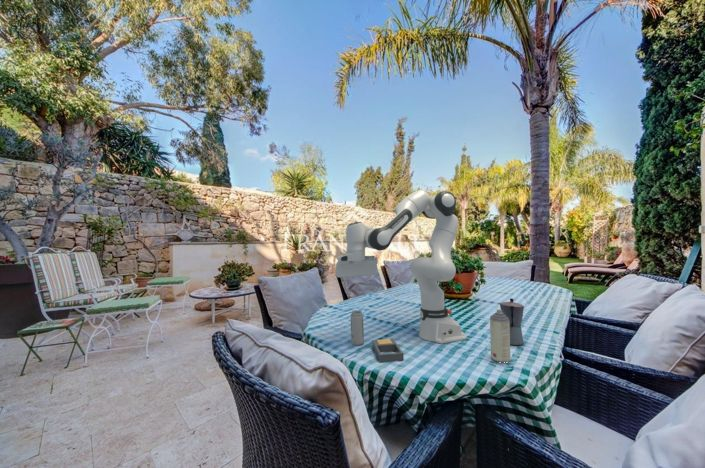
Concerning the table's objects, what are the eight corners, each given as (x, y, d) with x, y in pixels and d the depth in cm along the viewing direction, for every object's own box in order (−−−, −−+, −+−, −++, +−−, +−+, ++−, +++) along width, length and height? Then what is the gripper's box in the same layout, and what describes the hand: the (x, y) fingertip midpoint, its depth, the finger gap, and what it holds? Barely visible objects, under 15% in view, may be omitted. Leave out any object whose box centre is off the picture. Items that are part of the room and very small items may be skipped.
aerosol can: (498, 354, 114) (497, 306, 114) (514, 361, 107) (513, 310, 107) (487, 357, 111) (485, 308, 111) (502, 365, 105) (500, 313, 105)
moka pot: (522, 337, 130) (521, 296, 130) (527, 351, 116) (526, 304, 116) (500, 335, 134) (498, 294, 134) (502, 347, 120) (501, 302, 120)
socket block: (393, 345, 126) (393, 337, 126) (403, 360, 111) (403, 352, 111) (372, 346, 125) (372, 339, 125) (379, 362, 110) (379, 354, 110)
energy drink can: (351, 341, 132) (350, 310, 132) (363, 340, 132) (362, 309, 132) (351, 346, 126) (350, 314, 126) (364, 346, 126) (363, 313, 126)
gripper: (376, 254, 134) (377, 283, 134) (334, 256, 131) (335, 285, 131) (378, 255, 127) (380, 285, 127) (335, 258, 125) (336, 288, 125)
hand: (357, 285), depth 129 cm, fingers open, 8 cm apart
